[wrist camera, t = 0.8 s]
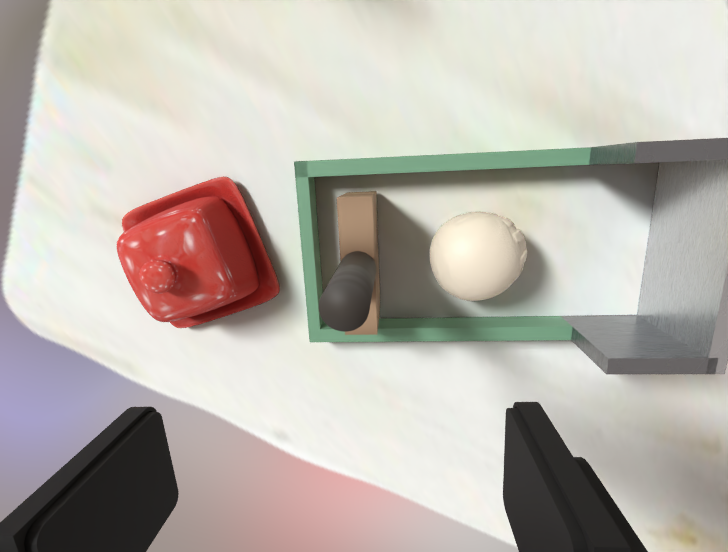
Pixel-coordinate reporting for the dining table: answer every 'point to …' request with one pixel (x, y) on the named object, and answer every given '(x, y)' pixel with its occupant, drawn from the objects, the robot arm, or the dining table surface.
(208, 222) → the butter dish
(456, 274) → the cream round ball
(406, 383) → the dining table surface
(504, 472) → the robot arm
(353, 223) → the striker
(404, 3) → the dining table surface
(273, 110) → the dining table surface
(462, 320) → the frame
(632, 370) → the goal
